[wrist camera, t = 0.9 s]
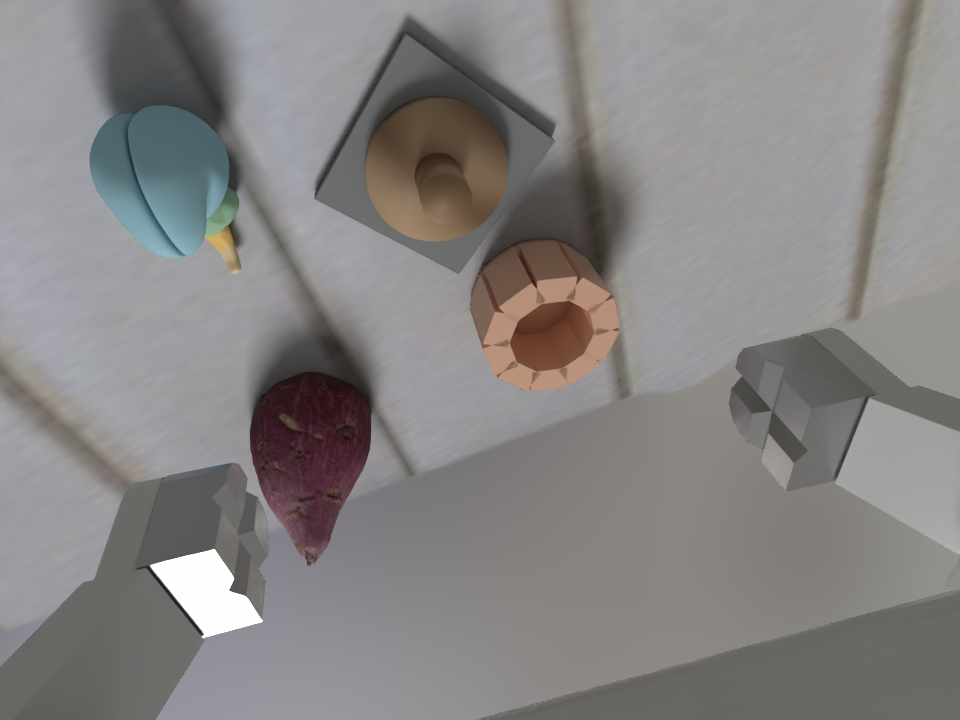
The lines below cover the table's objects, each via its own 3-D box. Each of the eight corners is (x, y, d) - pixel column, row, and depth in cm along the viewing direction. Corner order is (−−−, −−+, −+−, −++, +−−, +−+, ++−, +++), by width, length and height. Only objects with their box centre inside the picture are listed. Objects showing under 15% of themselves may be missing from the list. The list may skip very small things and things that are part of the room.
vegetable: (359, 429, 60) (383, 577, 52) (248, 437, 56) (256, 599, 48) (375, 365, 52) (407, 529, 44) (248, 370, 49) (257, 550, 40)
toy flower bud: (173, 347, 38) (35, 174, 29) (192, 268, 44) (83, 106, 35) (283, 314, 38) (177, 131, 29) (286, 240, 44) (200, 72, 36)
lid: (412, 64, 37) (422, 86, 33) (531, 146, 42) (552, 175, 38) (339, 193, 41) (340, 226, 37) (454, 255, 46) (466, 291, 42)
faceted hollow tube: (519, 215, 45) (541, 252, 41) (618, 275, 51) (646, 315, 46) (445, 316, 50) (456, 360, 45) (542, 362, 55) (561, 406, 50)
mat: (404, 31, 36) (406, 34, 36) (551, 137, 42) (554, 141, 42) (314, 194, 41) (314, 199, 41) (457, 268, 47) (458, 273, 47)
